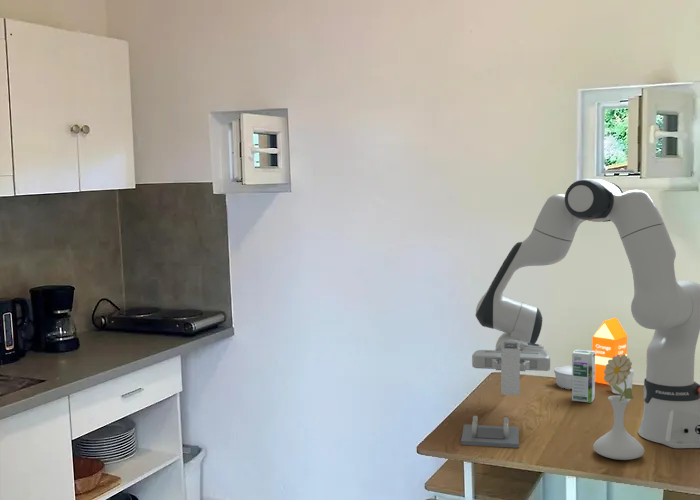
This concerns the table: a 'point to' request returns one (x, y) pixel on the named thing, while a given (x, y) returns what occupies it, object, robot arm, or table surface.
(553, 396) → the table surface
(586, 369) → the syrup box
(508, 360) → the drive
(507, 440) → the stand
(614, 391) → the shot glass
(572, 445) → the table surface
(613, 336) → the orange juice
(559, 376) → the ramekin
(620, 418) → the flower in vase
